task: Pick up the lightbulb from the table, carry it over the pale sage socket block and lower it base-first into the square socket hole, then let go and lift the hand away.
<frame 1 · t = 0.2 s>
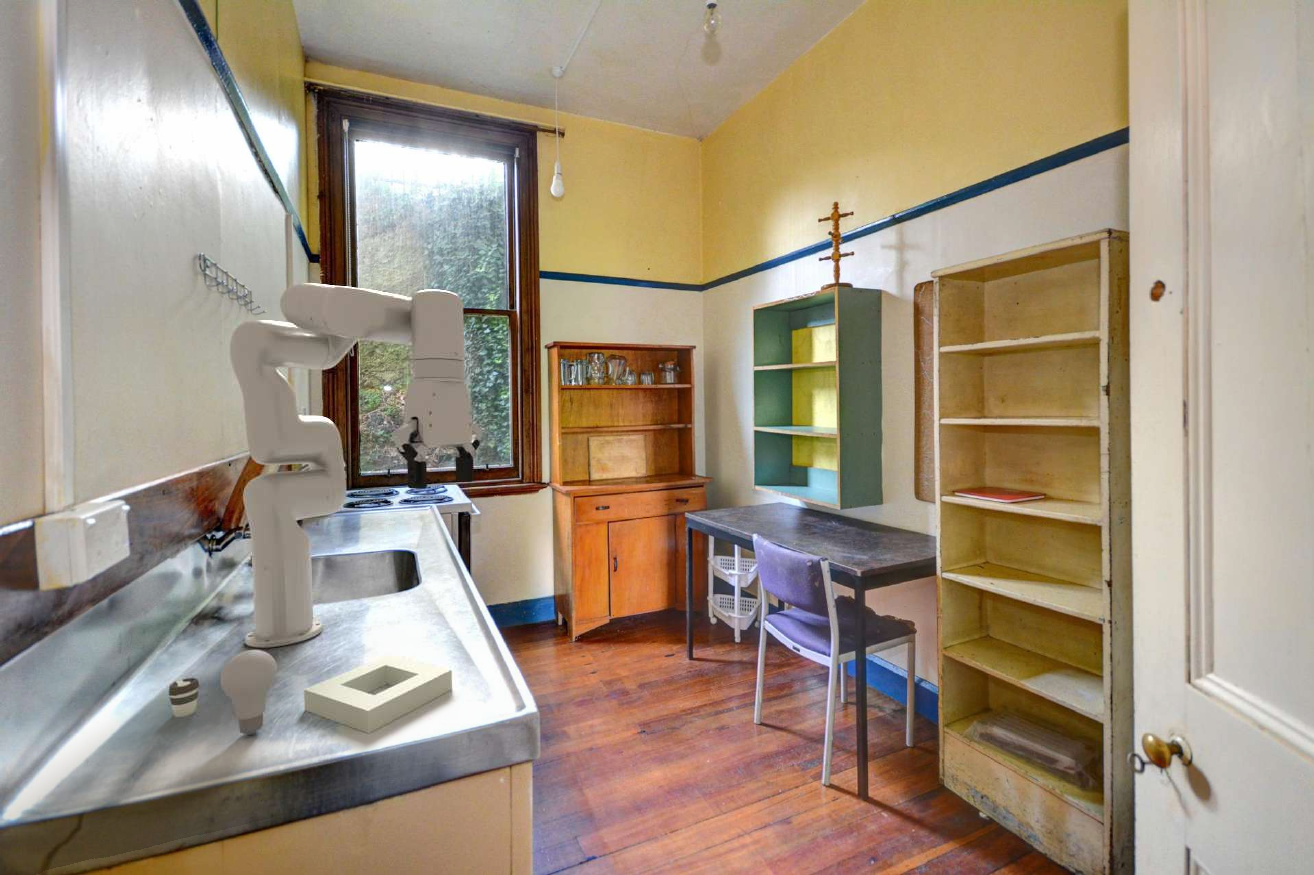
hand: (442, 484, 90), 31 cm above the worktop, tool pointing down, fingers open, 9 cm apart
lightbulb: (251, 735, 77), on the worktop
coffee cup: (185, 717, 83), on the worktop
socket block: (380, 699, 86), on the worktop
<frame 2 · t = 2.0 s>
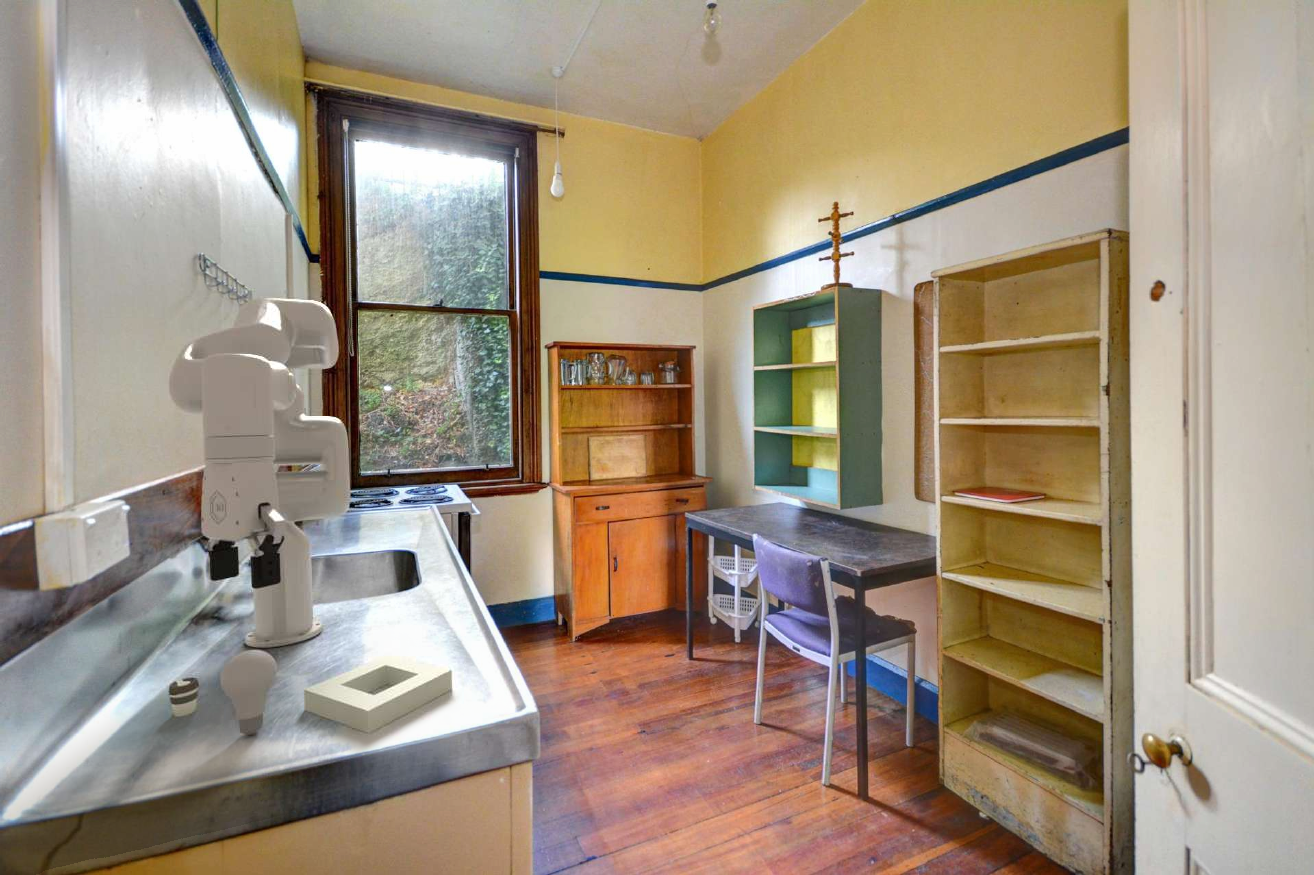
hand: (245, 582, 76), 20 cm above the worktop, tool pointing down, fingers open, 9 cm apart
nothing on the worktop moved.
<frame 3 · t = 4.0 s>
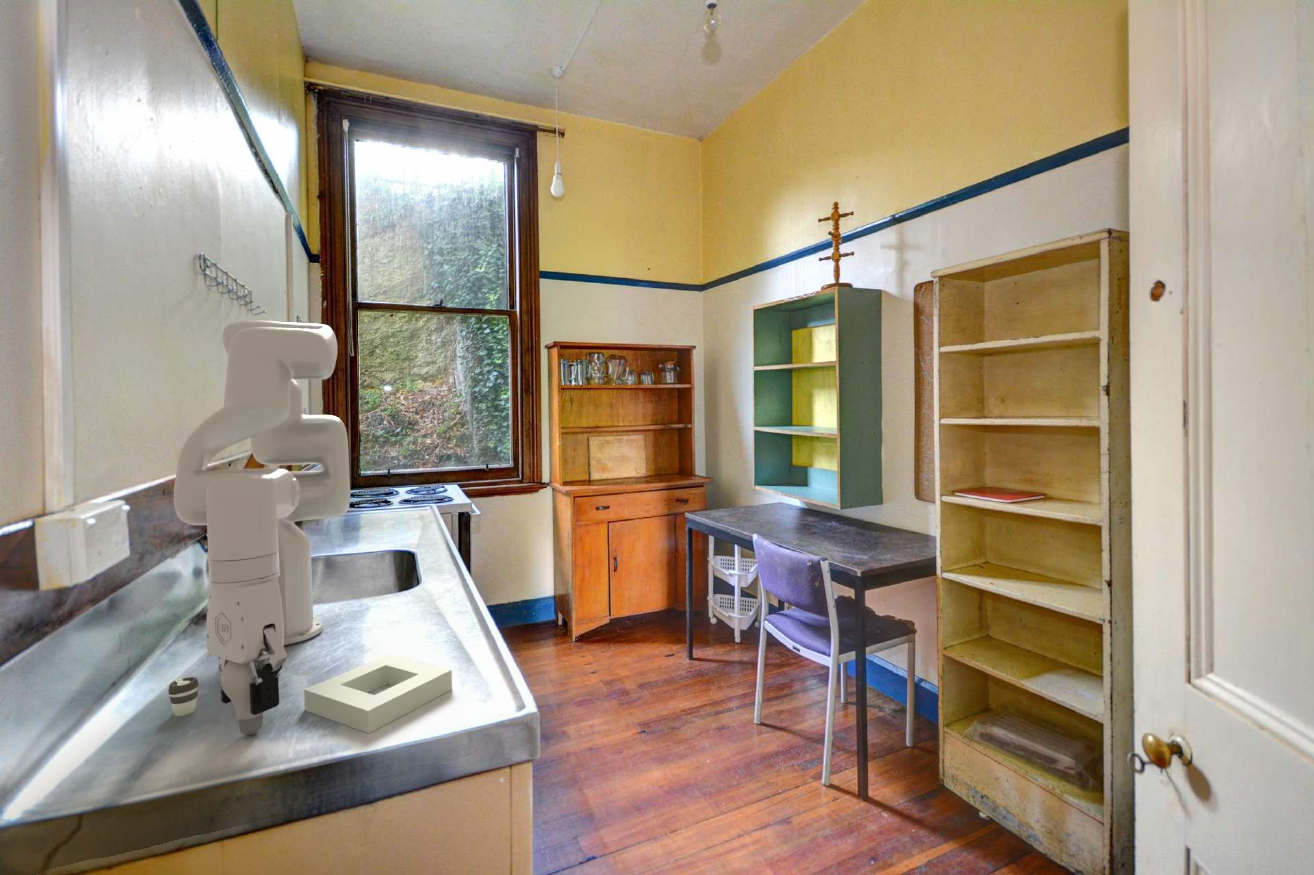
hand: (250, 703, 77), 4 cm above the worktop, tool pointing down, fingers closed on lightbulb, 6 cm apart
lightbulb: (251, 735, 77), on the worktop, touching gripper
everything else where it was.
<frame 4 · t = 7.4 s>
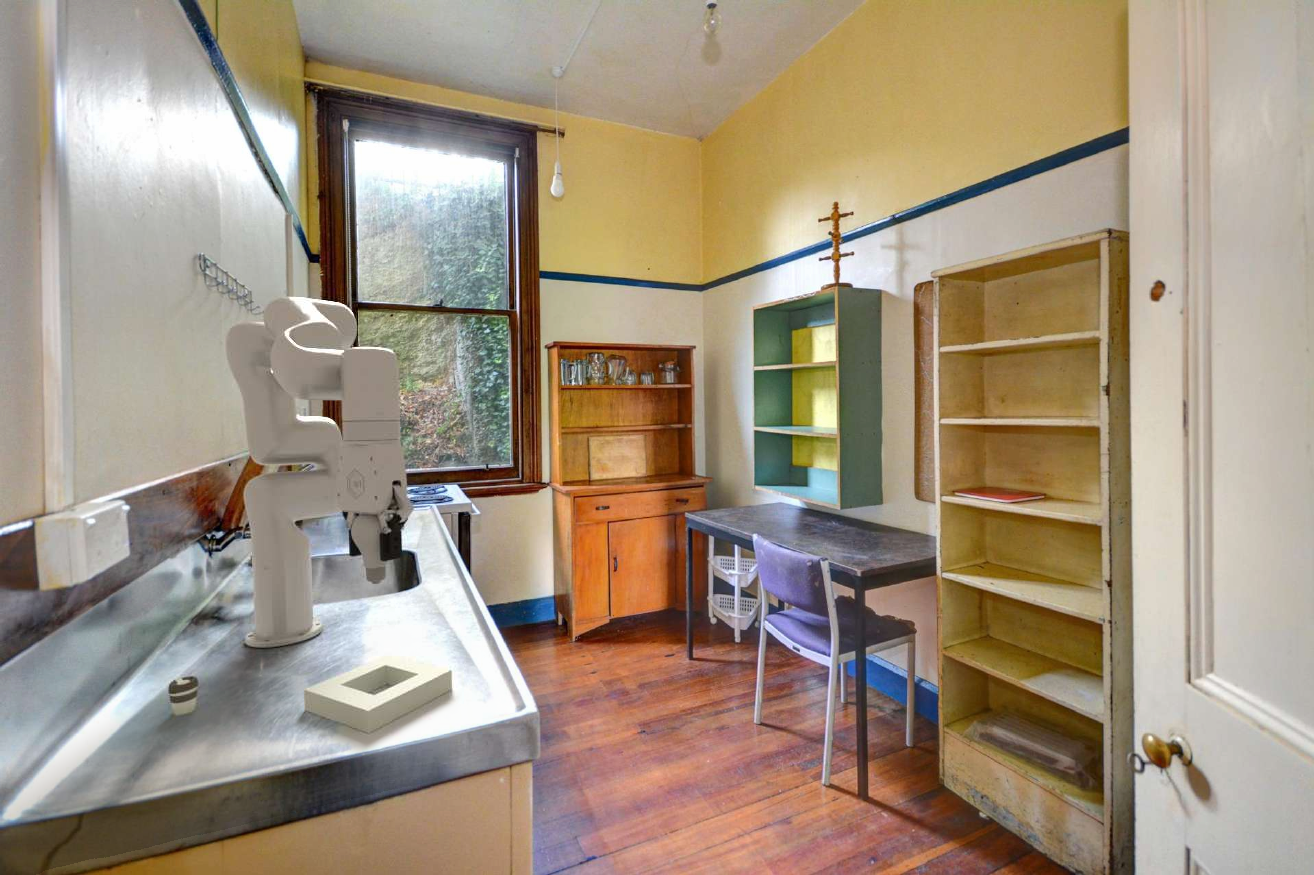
hand: (375, 555, 86), 21 cm above the worktop, tool pointing down, fingers closed on lightbulb, 6 cm apart
lightbulb: (376, 585, 86), point 17 cm above the worktop, touching gripper
everything else where it was.
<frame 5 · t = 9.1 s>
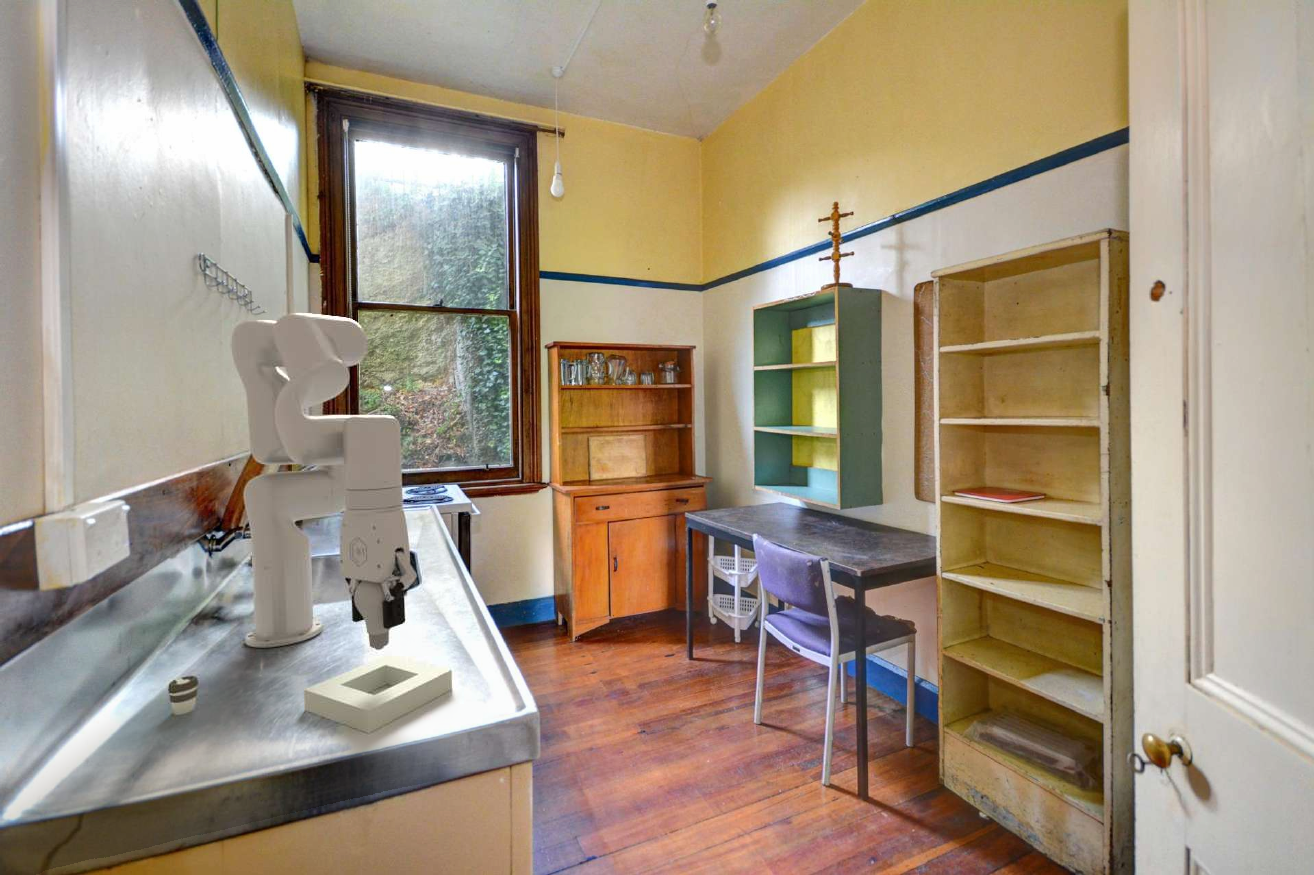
hand: (378, 621, 86), 12 cm above the worktop, tool pointing down, fingers closed on lightbulb, 6 cm apart
lightbulb: (379, 650, 86), point 7 cm above the worktop, touching gripper
everything else where it was.
when the fingers open (5 cm above the worktop, at t = 10.8 s): lightbulb drops 1 cm, resting in socket block.
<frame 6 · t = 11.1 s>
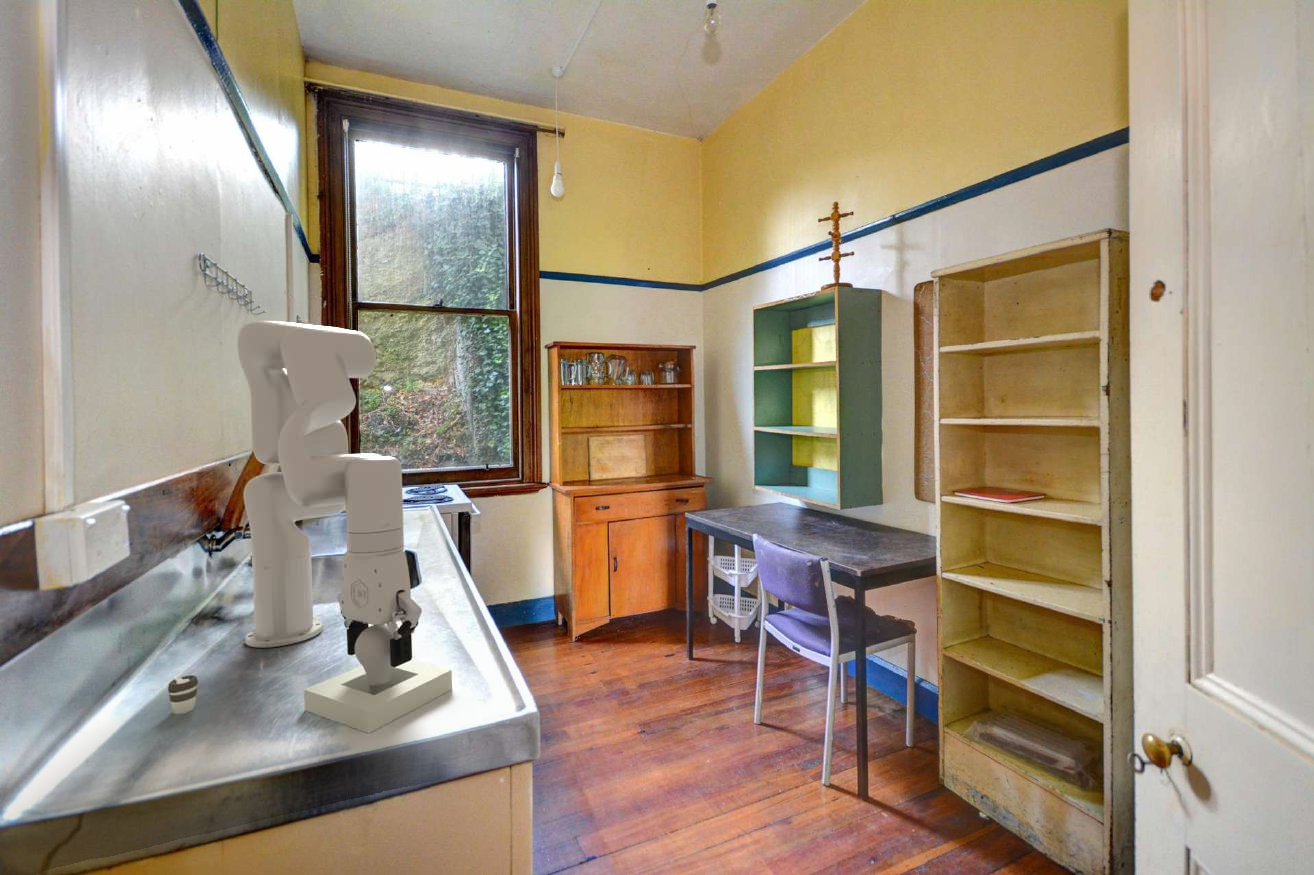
hand: (379, 657, 86), 6 cm above the worktop, tool pointing down, fingers open, 9 cm apart
lightbulb: (380, 700, 86), resting in socket block
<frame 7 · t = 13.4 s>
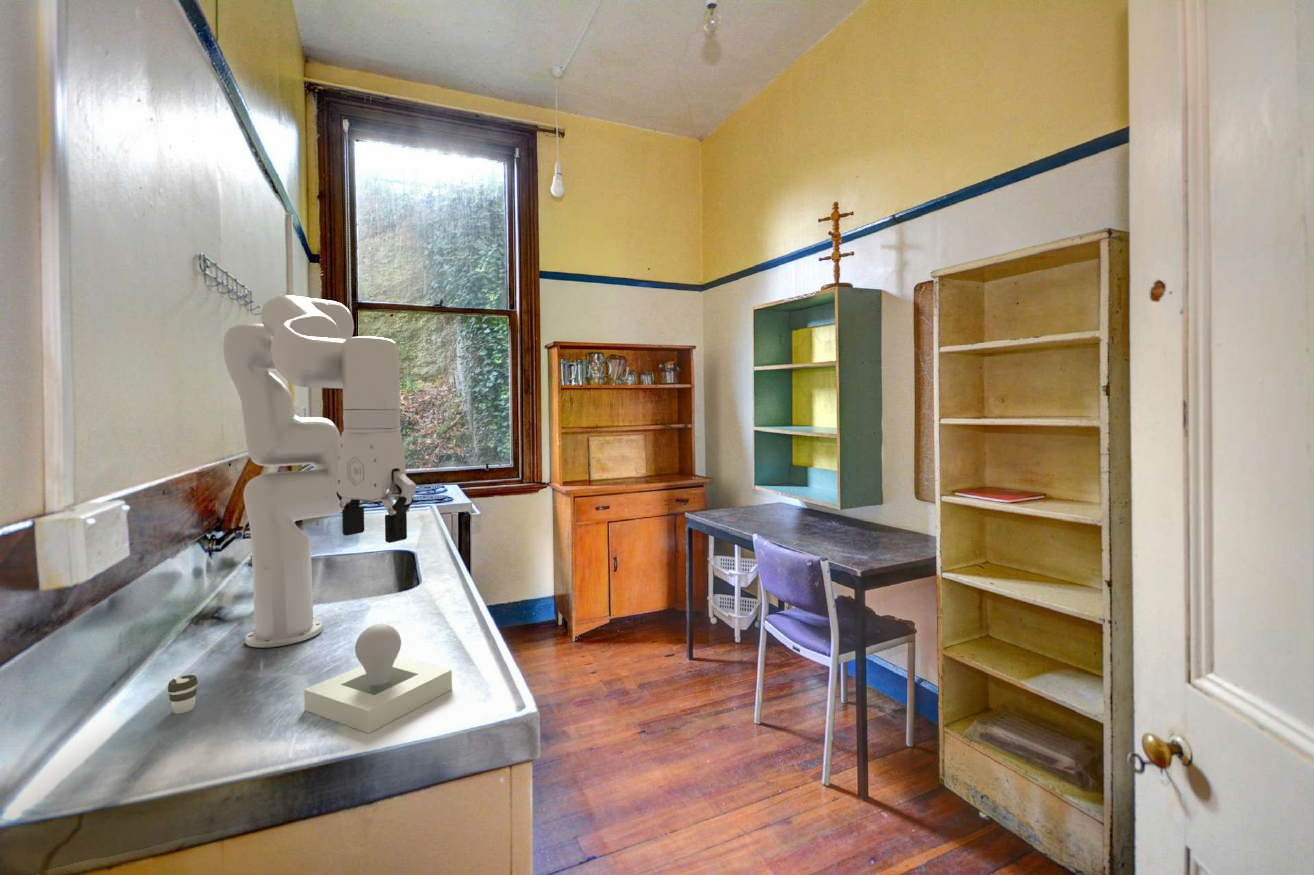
hand: (374, 537, 87), 24 cm above the worktop, tool pointing down, fingers open, 9 cm apart
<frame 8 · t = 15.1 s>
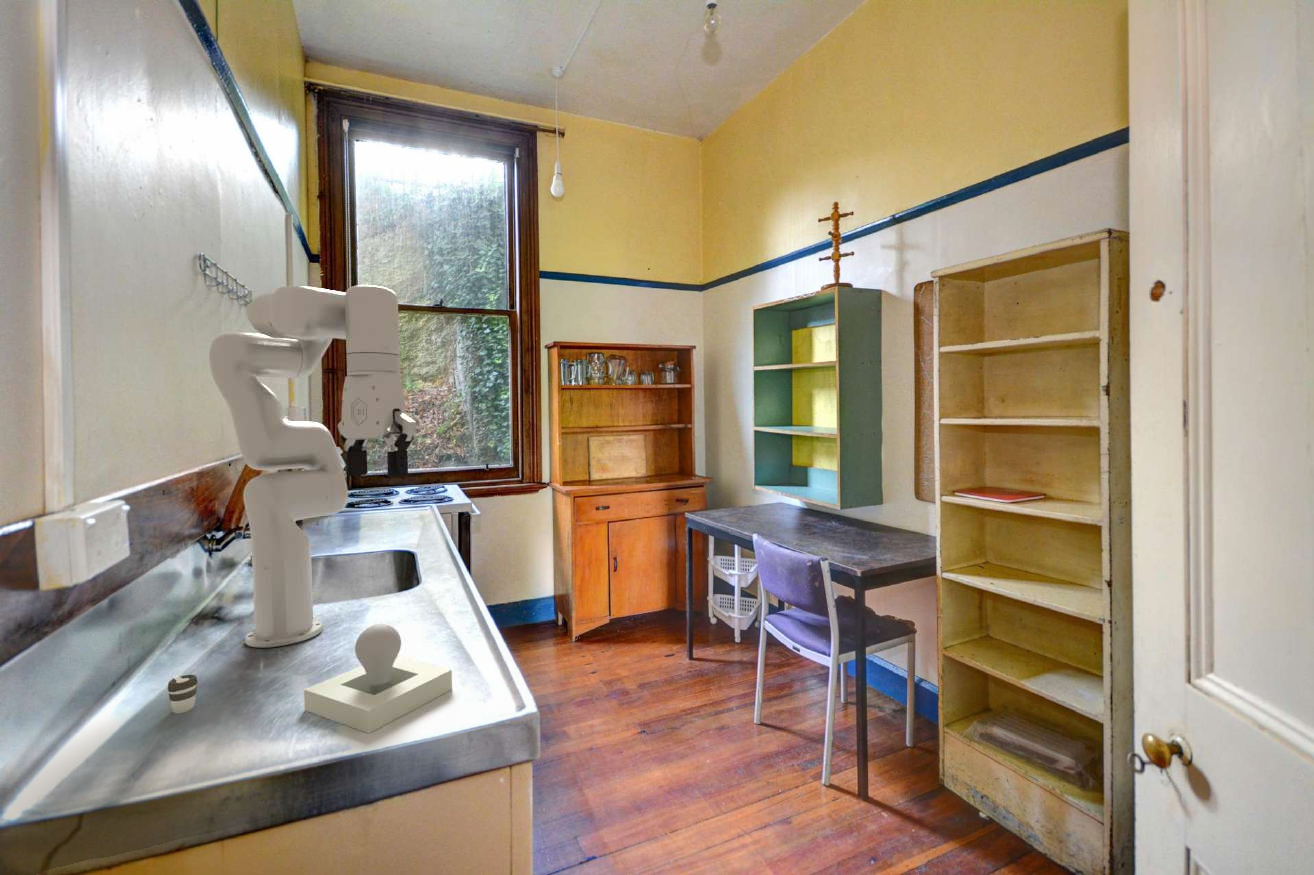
hand: (377, 476, 93), 32 cm above the worktop, tool pointing down, fingers open, 9 cm apart
at the end: lightbulb 0.2 cm off-centre on the socket block, point 0.0 cm above the socket block's base; lightbulb tilted 0°; the gripper is holding nothing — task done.
